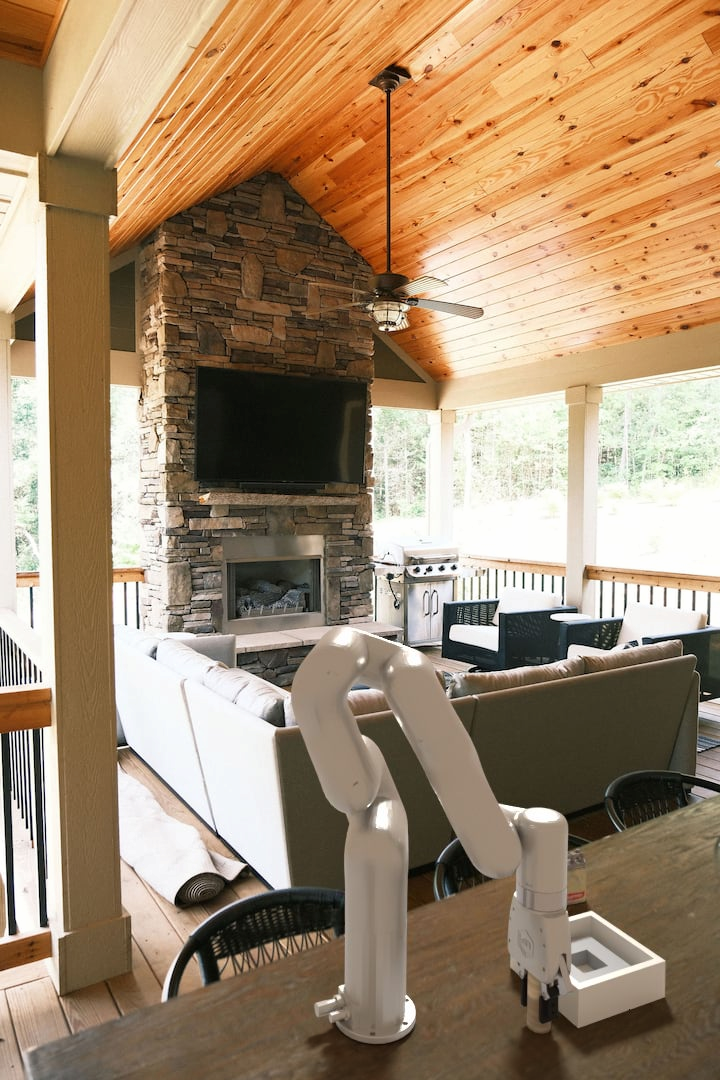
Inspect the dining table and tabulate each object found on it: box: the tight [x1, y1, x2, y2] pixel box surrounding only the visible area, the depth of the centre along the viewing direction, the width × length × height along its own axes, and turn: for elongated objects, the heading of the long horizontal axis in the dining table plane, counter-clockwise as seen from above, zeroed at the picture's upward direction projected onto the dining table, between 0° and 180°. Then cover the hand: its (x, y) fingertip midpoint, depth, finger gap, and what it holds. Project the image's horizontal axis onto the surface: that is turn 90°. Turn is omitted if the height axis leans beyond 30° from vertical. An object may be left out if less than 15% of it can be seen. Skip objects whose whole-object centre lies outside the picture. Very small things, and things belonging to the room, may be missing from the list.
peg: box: [526, 971, 552, 1034], centre depth 115 cm, size 4×4×10 cm
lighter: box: [567, 848, 587, 906], centre depth 153 cm, size 7×4×10 cm, turn 110°
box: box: [509, 910, 667, 1029], centre depth 126 cm, size 18×17×6 cm
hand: (539, 1010), depth 115 cm, fingers closed on peg, 3 cm apart
